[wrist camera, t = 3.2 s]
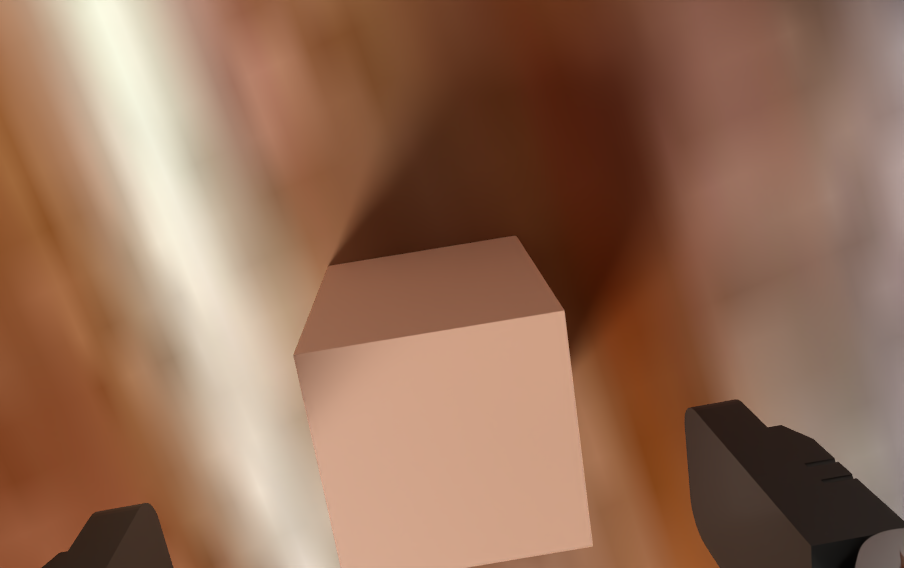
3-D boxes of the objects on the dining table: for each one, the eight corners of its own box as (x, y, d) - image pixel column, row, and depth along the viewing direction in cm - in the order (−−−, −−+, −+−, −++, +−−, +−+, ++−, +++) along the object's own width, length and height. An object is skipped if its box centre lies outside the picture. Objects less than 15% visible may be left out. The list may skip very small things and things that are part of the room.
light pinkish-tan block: (516, 235, 19) (564, 310, 13) (539, 407, 20) (592, 546, 14) (328, 265, 19) (293, 354, 13) (363, 436, 20) (345, 587, 14)
